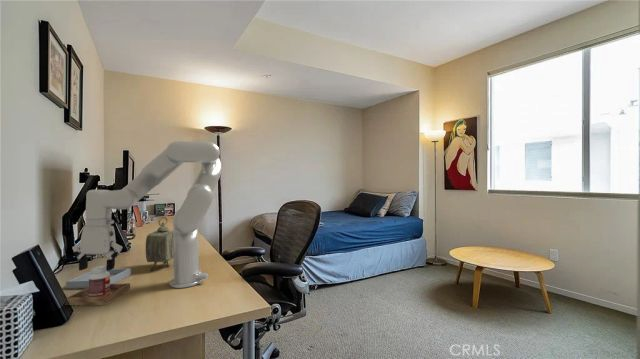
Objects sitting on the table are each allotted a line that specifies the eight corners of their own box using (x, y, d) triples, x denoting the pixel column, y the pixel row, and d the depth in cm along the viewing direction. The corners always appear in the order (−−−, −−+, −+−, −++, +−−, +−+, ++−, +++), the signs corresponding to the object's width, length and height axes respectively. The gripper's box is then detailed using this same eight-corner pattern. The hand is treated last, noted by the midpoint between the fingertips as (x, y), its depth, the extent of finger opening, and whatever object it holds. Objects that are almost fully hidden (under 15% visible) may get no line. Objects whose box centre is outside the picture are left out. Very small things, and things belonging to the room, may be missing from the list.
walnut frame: (130, 289, 110) (130, 283, 110) (105, 304, 97) (105, 297, 97) (94, 290, 110) (94, 284, 110) (64, 305, 96) (64, 298, 96)
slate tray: (130, 275, 128) (130, 268, 128) (106, 288, 112) (106, 280, 112) (95, 275, 127) (95, 269, 127) (66, 289, 112) (66, 281, 112)
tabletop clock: (163, 262, 147) (163, 215, 147) (180, 262, 147) (180, 215, 147) (145, 271, 132) (145, 219, 133) (164, 271, 132) (163, 219, 132)
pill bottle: (109, 298, 102) (109, 268, 102) (87, 302, 99) (87, 271, 99) (110, 292, 108) (110, 264, 108) (90, 296, 104) (89, 266, 104)
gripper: (128, 222, 107) (127, 266, 107) (82, 221, 107) (81, 266, 106) (115, 224, 100) (113, 272, 100) (65, 224, 99) (63, 272, 99)
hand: (96, 269), depth 103 cm, fingers open, 9 cm apart
